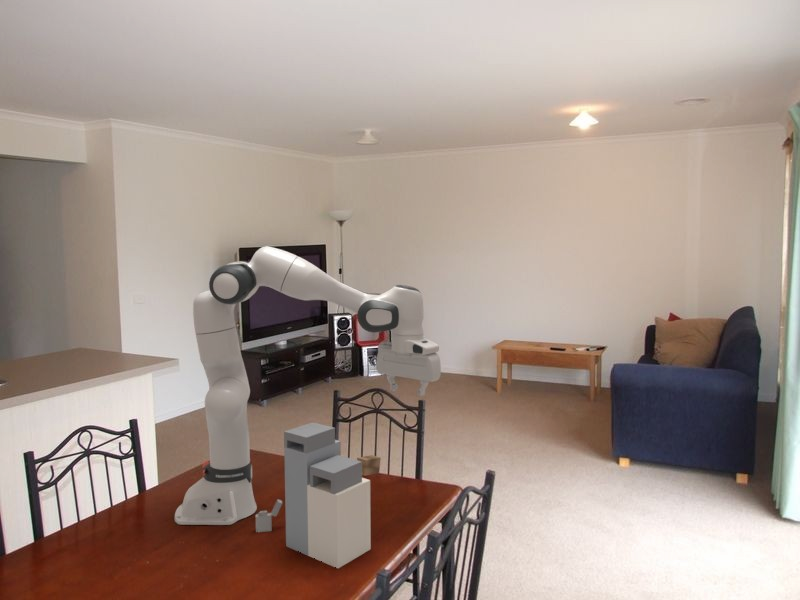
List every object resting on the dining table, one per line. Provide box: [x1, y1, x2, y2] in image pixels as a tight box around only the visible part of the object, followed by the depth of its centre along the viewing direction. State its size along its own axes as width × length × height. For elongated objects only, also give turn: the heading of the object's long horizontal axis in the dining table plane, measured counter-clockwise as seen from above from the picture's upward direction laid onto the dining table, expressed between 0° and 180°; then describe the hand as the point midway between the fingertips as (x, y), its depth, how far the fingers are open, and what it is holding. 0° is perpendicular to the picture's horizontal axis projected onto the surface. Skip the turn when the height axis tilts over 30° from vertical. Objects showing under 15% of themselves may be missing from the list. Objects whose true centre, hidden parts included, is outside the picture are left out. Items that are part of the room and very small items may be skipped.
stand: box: [283, 422, 372, 569], centre depth 161 cm, size 12×18×30 cm, turn 52°
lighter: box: [255, 498, 283, 534], centre depth 172 cm, size 7×2×8 cm, turn 105°
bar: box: [356, 454, 382, 476], centre depth 162 cm, size 17×3×4 cm, turn 143°
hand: (407, 393), depth 178 cm, fingers open, 8 cm apart
